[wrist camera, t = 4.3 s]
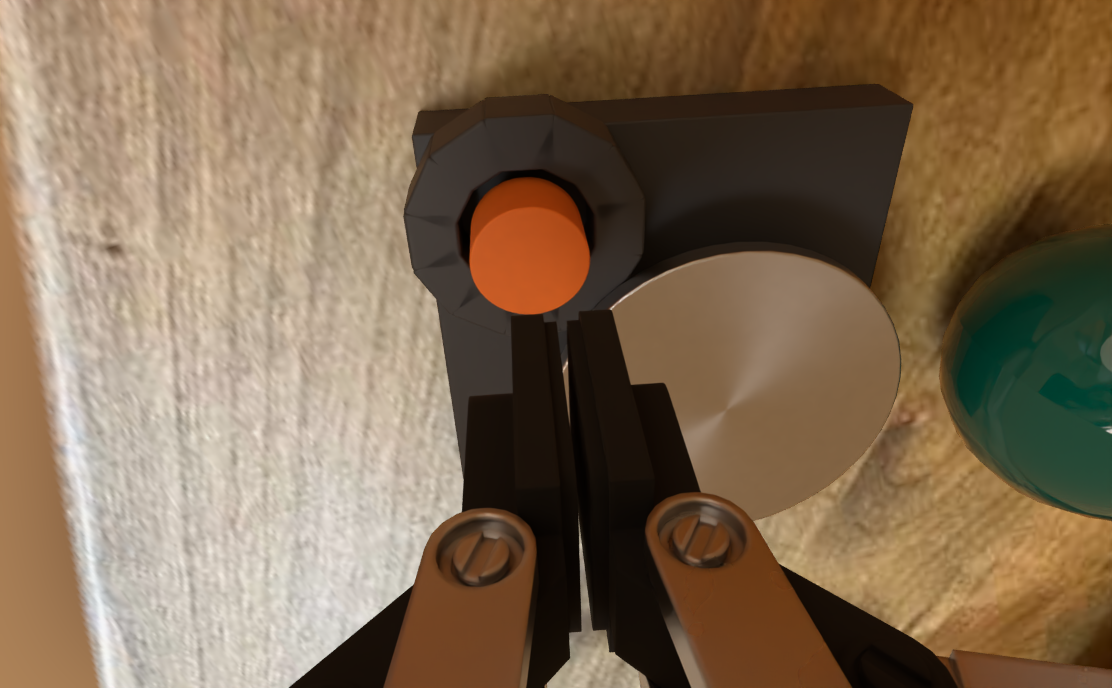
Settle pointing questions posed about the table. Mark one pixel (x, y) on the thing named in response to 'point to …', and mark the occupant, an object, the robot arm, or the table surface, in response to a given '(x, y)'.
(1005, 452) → the sphere
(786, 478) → the brushed metal disc
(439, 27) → the table surface
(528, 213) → the button
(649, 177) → the scale
